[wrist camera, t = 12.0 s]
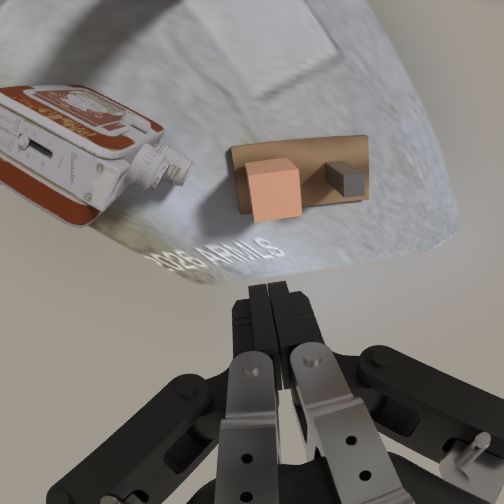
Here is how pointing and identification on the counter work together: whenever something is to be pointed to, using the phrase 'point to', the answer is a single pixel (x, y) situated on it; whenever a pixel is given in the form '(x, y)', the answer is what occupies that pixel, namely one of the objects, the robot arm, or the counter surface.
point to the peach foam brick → (274, 189)
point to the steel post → (345, 179)
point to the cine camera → (79, 150)
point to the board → (305, 165)
